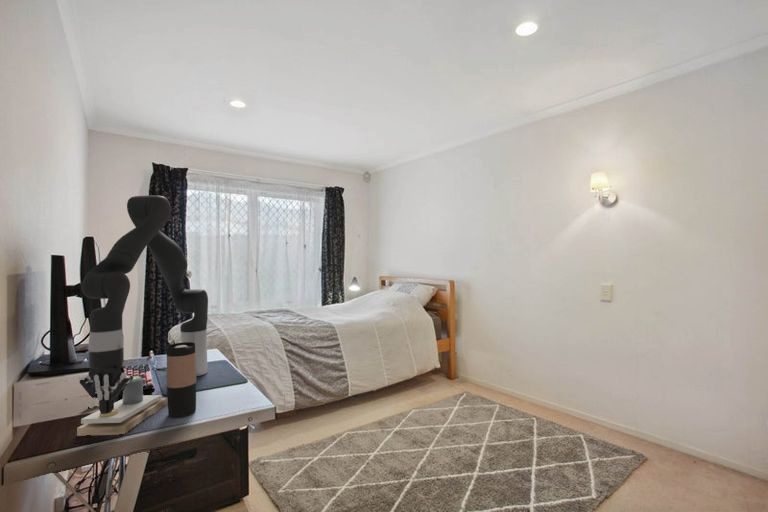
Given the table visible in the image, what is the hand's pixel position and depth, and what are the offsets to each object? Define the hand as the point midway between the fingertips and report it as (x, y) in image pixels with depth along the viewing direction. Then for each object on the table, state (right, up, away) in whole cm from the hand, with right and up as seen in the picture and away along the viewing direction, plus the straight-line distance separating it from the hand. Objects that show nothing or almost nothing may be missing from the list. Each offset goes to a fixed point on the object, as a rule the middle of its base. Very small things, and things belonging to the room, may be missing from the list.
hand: (106, 412), depth 100 cm
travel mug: (+14, -5, +11) cm, 19 cm away
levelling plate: (0, -2, +7) cm, 8 cm away
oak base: (0, -5, +8) cm, 9 cm away
